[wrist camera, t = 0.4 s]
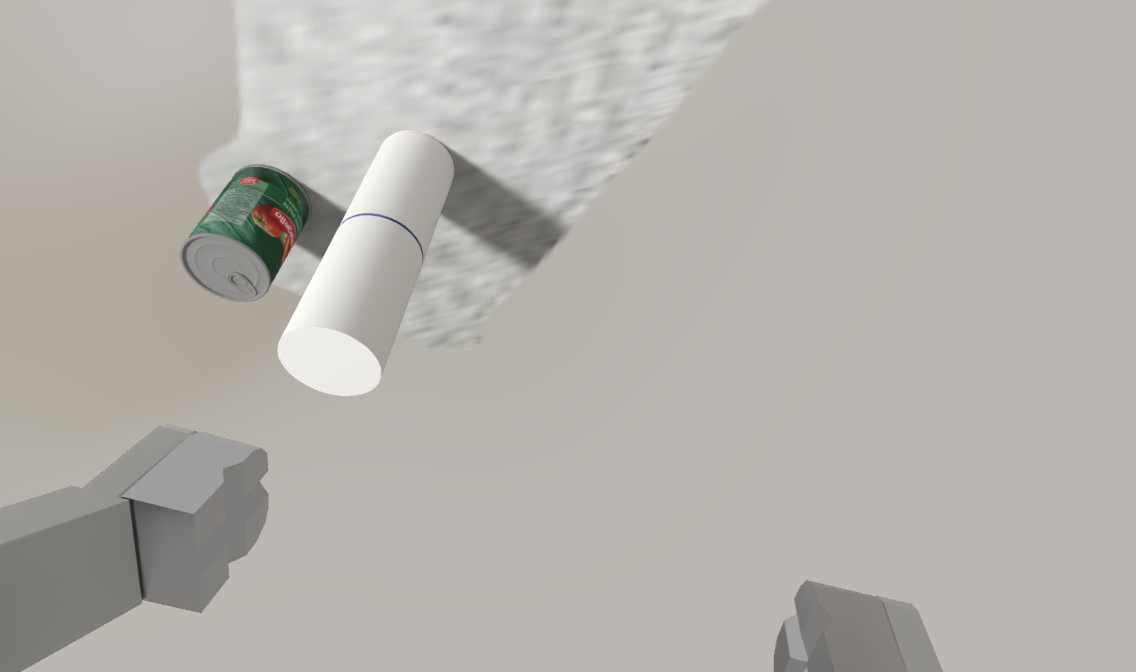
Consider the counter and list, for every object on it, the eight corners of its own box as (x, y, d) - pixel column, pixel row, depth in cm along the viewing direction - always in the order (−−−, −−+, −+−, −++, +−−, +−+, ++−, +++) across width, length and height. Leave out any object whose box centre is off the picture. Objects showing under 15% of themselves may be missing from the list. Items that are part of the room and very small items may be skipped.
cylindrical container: (467, 158, 65) (397, 358, 48) (434, 208, 69) (359, 408, 52) (397, 115, 62) (296, 310, 45) (367, 171, 67) (265, 367, 50)
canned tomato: (214, 181, 69) (159, 251, 62) (271, 152, 66) (221, 222, 59) (272, 239, 74) (227, 311, 67) (327, 215, 71) (288, 287, 64)
